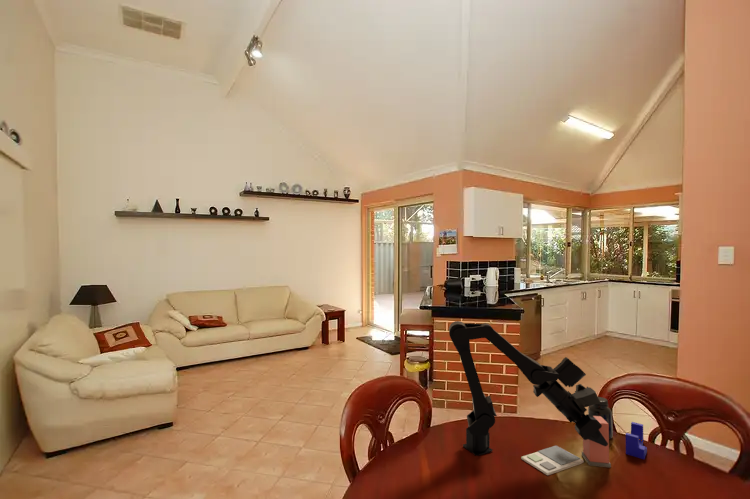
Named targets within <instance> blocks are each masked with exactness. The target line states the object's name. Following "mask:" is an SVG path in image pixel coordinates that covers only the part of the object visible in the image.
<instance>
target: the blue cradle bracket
mask: <svg viewBox="0 0 750 499" xmlns="http://www.w3.org/2000/svg"><path fill="white" fill-rule="evenodd" d="M639 439H640V440H639ZM641 440H642V441H641ZM643 442H644V424H642V423H639V422H634V421H631V423H630V433H629V432H626V433H625V454H626V455H628V456H631V457H634V458H638V459H640V460H645V459H646V456H647V452H648V447H647V446H645V445H644V443H643Z"/></svg>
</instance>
